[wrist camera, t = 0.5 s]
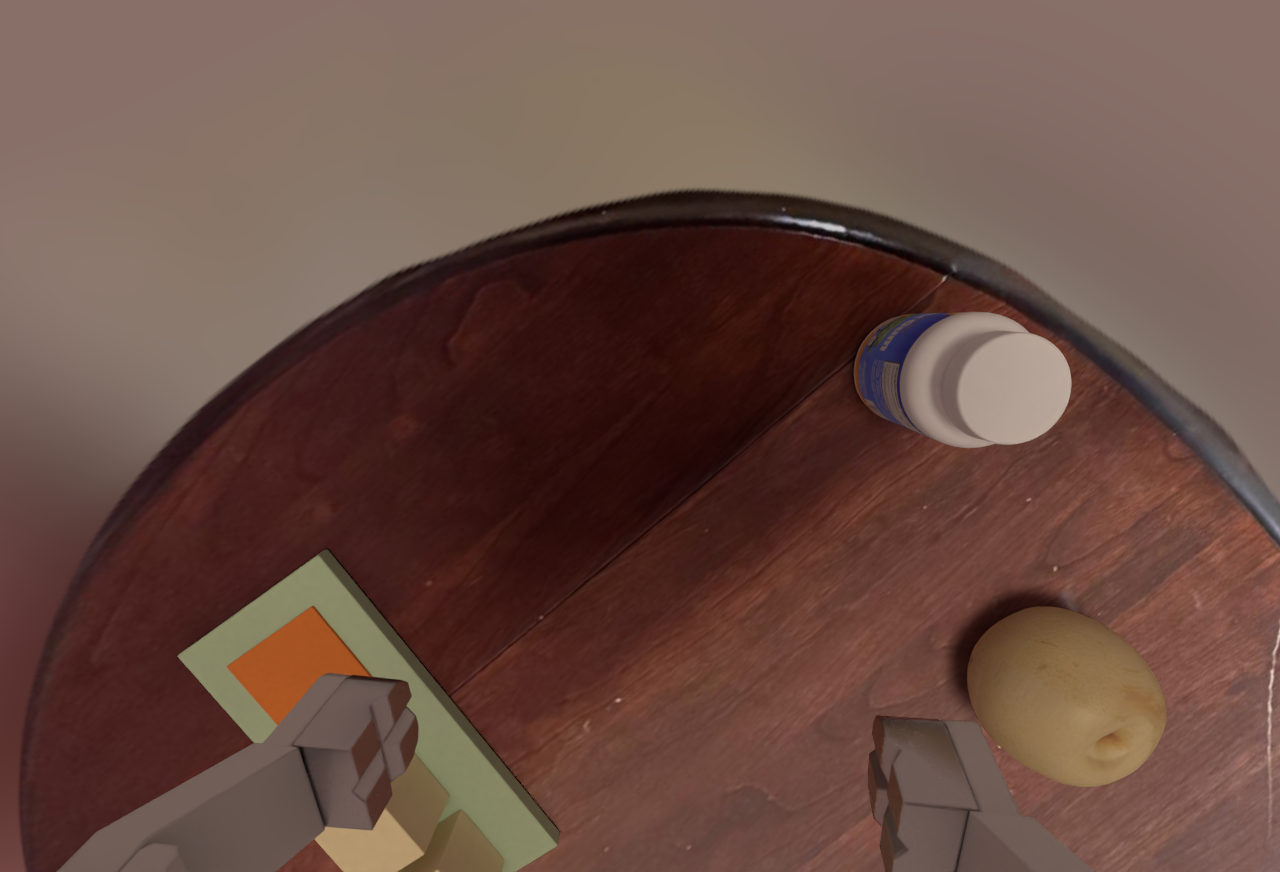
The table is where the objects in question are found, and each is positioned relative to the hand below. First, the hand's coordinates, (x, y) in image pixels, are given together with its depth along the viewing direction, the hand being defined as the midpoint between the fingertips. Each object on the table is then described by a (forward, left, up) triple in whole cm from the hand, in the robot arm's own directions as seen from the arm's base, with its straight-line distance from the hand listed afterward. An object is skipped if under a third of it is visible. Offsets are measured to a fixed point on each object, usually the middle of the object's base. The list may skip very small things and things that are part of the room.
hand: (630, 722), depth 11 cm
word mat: (+5, -22, -22) cm, 31 cm away
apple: (+21, +10, -22) cm, 32 cm away
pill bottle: (+4, +13, -22) cm, 26 cm away
